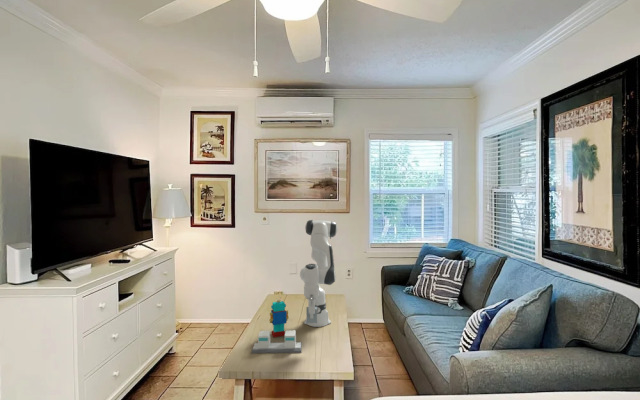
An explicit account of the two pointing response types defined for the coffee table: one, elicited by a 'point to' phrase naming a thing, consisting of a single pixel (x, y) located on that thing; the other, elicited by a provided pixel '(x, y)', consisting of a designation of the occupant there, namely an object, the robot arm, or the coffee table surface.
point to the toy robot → (278, 318)
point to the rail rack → (268, 347)
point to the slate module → (313, 316)
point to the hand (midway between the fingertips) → (311, 316)
